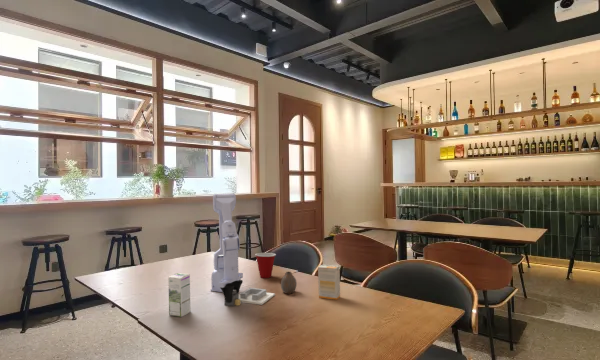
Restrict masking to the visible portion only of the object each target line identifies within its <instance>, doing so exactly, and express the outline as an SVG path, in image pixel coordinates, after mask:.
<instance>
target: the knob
mask: <svg viewBox="0 0 600 360" xmlns="http://www.w3.org/2000/svg"><path fill="white" fill-rule="evenodd" d="M239 294H240V292H239V293H236V289H233V292H232V301H231V303H227V302H226V301H225V300H224V306H228V307H229V306H230V307H235V306H240V305H241V302H240V299H239Z"/></svg>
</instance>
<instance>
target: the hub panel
mask: <svg viewBox="0 0 600 360" xmlns="http://www.w3.org/2000/svg"><path fill="white" fill-rule="evenodd" d="M275 296H276V293H275V292H274V293H273V292H267V289H265V288H256V287H248V288H247V289H245V290H244V291H242V292H239V299H240V303H246V304H253V305H260V306H263V305H264V304H265V303H266V302H268V301H269V300H270V299H272V298H273V297H275Z"/></svg>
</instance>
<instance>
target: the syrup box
mask: <svg viewBox="0 0 600 360" xmlns="http://www.w3.org/2000/svg"><path fill="white" fill-rule="evenodd" d="M167 279H168V280H167V281H168V282H167V283H168V316H173V317H180V318H182V317H184V316H186V315H188V314H190V313H191V311H192V308H191V274H190V273H181V272H180V273H174V274H172V275H170V276H168V278H167Z"/></svg>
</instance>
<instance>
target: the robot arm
mask: <svg viewBox="0 0 600 360" xmlns="http://www.w3.org/2000/svg"><path fill="white" fill-rule="evenodd" d="M236 204H237V196H236V193H235V192H232V193H213V195H212V205H213V206H212V208H213V211H214V213H217V215H218V227H219V228H218V232H219V249H218V250H216V251H215V252H214V253H213V269H214V270H213V271H212V272H211V279H210V280H211V289H210V291H213V292H220V293H222V294H223V297H224V302H225V301H226V302H227V303H231V301H232V292H233V289H236V293H239V294H240V289H241V286H242V284H243V283H244V282H243V277H244V273H243V272H239V251H240V246H241V241H240V237H239V234H238V233H237V227H236V223H235V221H233V213H232V212H234V210H235V208H236Z"/></svg>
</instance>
